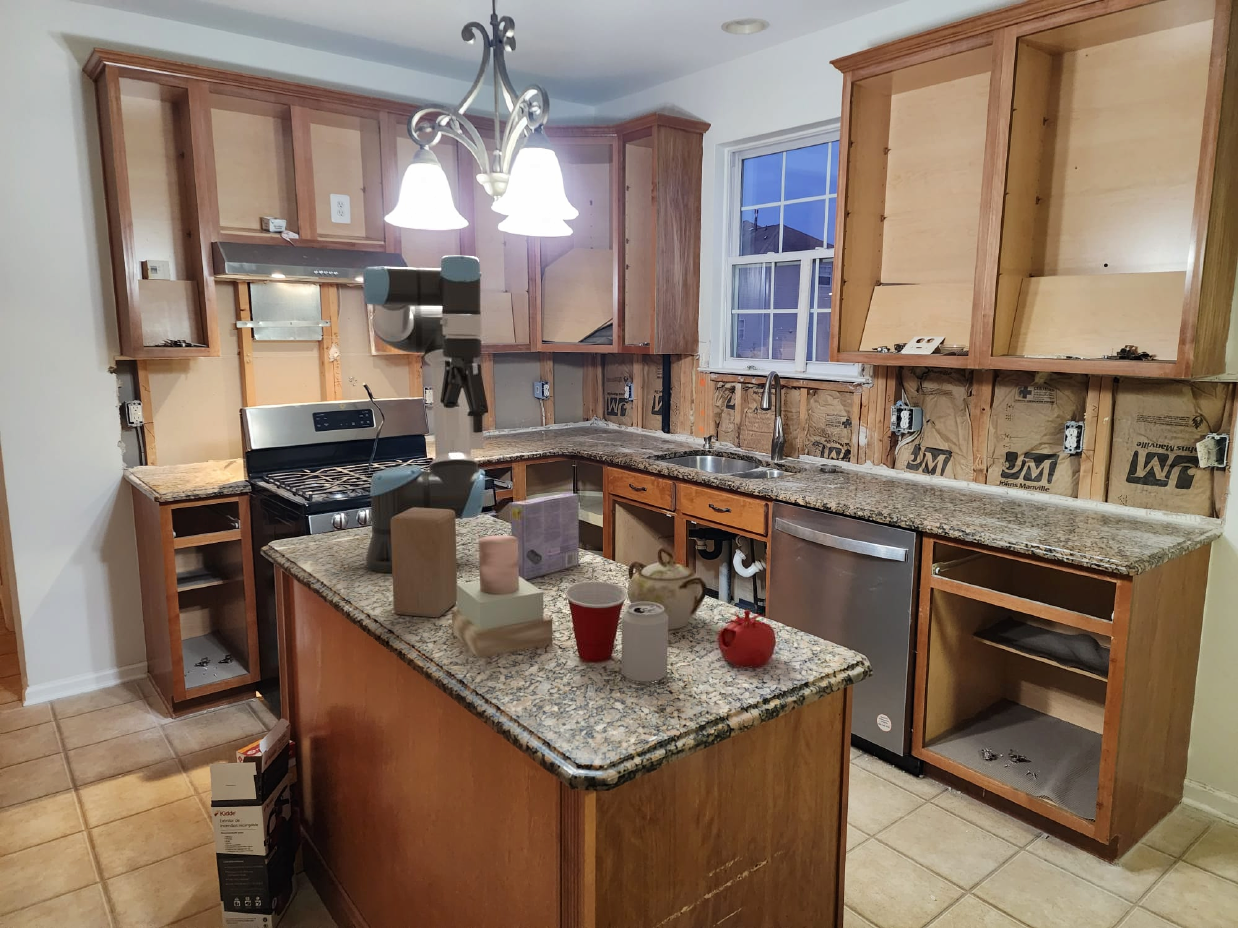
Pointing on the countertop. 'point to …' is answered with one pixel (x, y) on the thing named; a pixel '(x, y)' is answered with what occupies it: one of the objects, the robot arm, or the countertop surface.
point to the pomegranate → (747, 641)
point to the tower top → (499, 605)
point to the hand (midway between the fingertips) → (463, 443)
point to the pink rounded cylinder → (499, 564)
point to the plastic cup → (595, 617)
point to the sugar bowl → (667, 588)
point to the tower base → (501, 635)
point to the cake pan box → (546, 534)
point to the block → (424, 561)
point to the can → (644, 642)
